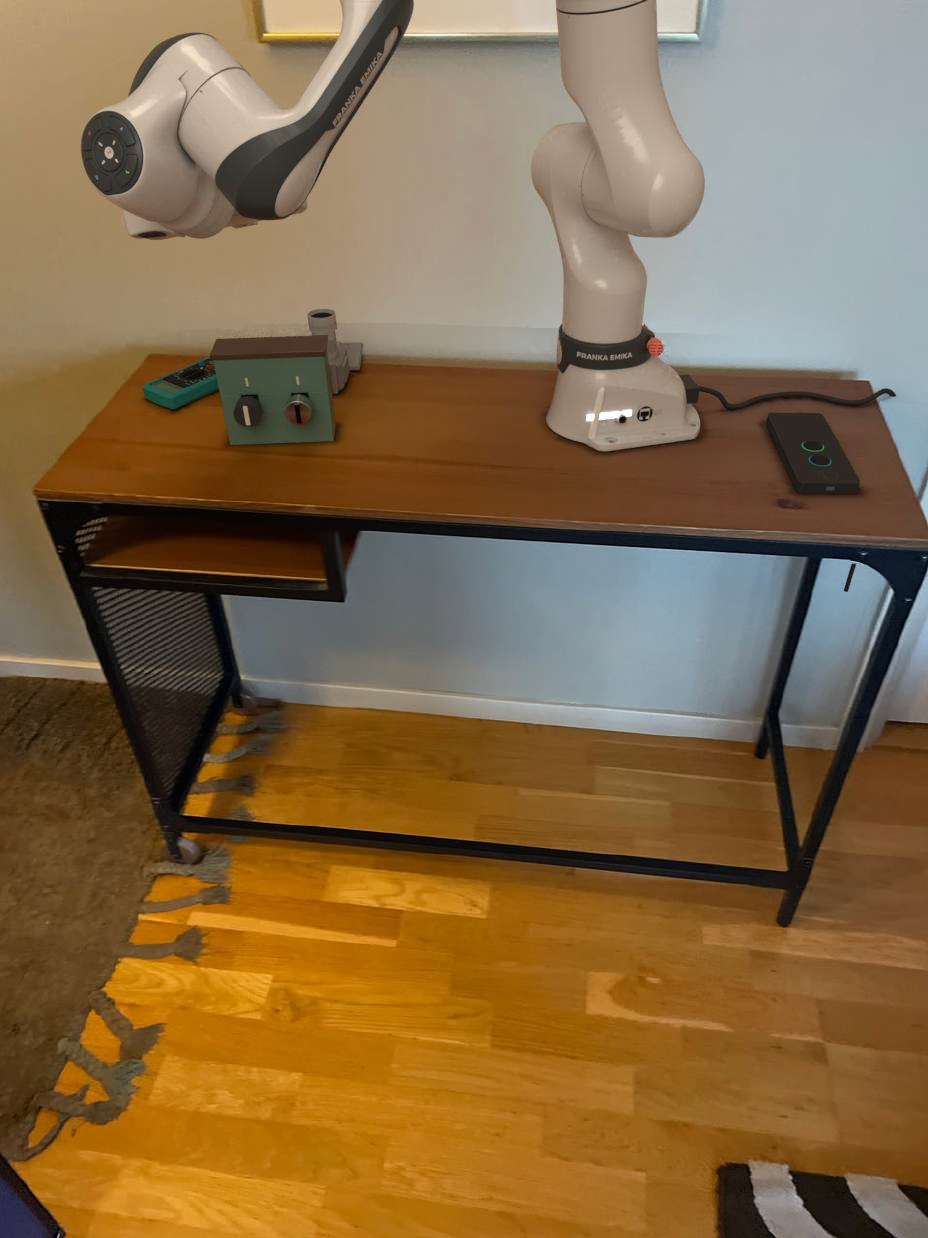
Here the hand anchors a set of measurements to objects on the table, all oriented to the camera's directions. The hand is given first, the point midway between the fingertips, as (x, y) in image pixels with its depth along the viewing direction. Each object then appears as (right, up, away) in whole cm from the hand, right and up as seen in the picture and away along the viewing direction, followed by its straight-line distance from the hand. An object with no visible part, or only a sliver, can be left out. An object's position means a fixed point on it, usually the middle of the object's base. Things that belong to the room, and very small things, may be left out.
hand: (246, 219), depth 112 cm
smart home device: (+75, -27, +14) cm, 81 cm away
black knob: (-3, -21, +16) cm, 26 cm away
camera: (+5, -9, +38) cm, 39 cm away
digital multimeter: (-16, -13, +34) cm, 40 cm away
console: (0, -22, +22) cm, 31 cm away
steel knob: (+4, -21, +16) cm, 26 cm away
